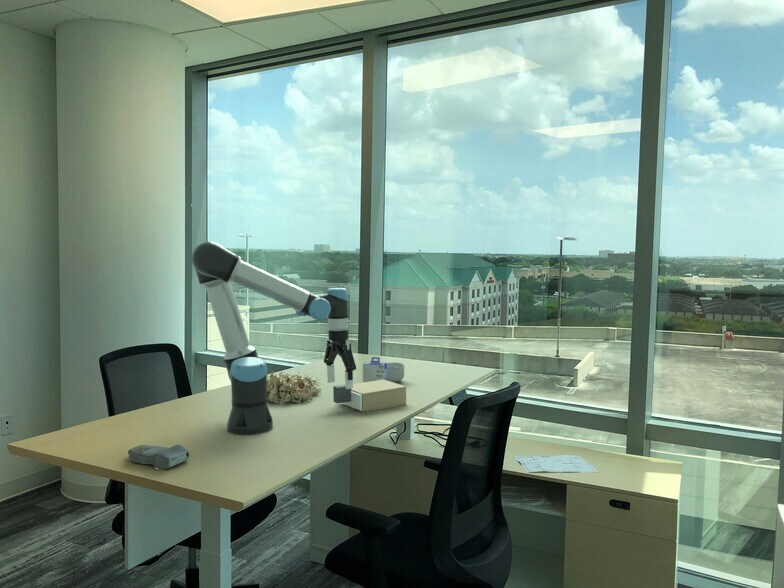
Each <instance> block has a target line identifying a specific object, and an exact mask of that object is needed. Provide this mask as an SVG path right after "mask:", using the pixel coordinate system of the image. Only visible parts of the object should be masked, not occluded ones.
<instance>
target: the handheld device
mask: <svg viewBox="0 0 784 588" xmlns="http://www.w3.org/2000/svg"><path fill="white" fill-rule="evenodd" d="M189 453H190V452H189V450H188V449H187V447H185V446H183V445H181V444H175V445H173V446H170V447H167V446H160V445H153V444H140V445H137V446H134V447H131V448H130V449H129V450H128V451H127V454H128V459H129V461H130V460H131V461H133V462H132V463H135V462H136V463H135V464H142V465H143V464H144V465H153V468H158V469H163V470H167V469H169V468H172V467H175V466H176V465H179V464H181V463H183V462H186V461H187V460H189V459H190V454H189ZM131 461H130V462H131Z"/></svg>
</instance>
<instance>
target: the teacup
mask: <svg viewBox="0 0 784 588" xmlns="http://www.w3.org/2000/svg"><path fill="white" fill-rule="evenodd" d="M386 363H387V381H390V382H393V383H396V384H398V383H400V382H401V381H402V380H403V379H404V377H405V363H403V362H386ZM397 382H398V383H397Z"/></svg>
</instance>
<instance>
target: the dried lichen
mask: <svg viewBox="0 0 784 588" xmlns="http://www.w3.org/2000/svg"><path fill="white" fill-rule="evenodd" d="M280 371H281V372H278V373H277V374H274V370H272V372H269V373H267V403H275V404H280V405H285V404H289V403H290V404H294V402H295V403H296V404H301V402H303V401H305V402H310V401H309V400H311V401H312V400H313V395H315V394H316V395H317V394H319V395H322V388H320V387H319V386H320V385H321V382H319V381H320V380H321V379H320V378H319V379H318V377H317V376H316V377H315V375H313V376H310V377H309V375H306V374H304V376H302V375H299V374H300V373H301V371H299V372H298V373H297V374H289V373H287V374H285V373H286V372H285V371H284V372H283V370H280ZM317 396H318V395H317Z"/></svg>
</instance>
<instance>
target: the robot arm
mask: <svg viewBox="0 0 784 588" xmlns="http://www.w3.org/2000/svg"><path fill="white" fill-rule="evenodd" d="M191 263H192V266H193V267H194V271H195V274H196V277H197V280H198V283H199V285H200V286H202V287H204V288H205V290H206V293H207V296H208V299H209V300H208V301H209V302H210V306H211V308H212V313H213V315H214V318H215V322H216V324H217V328H218V331H219V335H220V337H221V340H222V344H223V347H224V349H225V350H224V351H225V354H224V356H223V362H224V364H225V367H226V370H227V376H228V378H229V380H230V384H231V409H230V413H229V415H228V420H227V423H226V429H227V432H228V433H230V434H232V435H233V434H234V435H239V436H240V435H242V436H243V435H245V436H246V435H248V436H249V435H257V434H258V435H259V434H262V433H266V432H269V431H270V430H272V429H273V427H274V423H273V422H274V421H273V417H272V414H271V412H270V409H269V406H268V402H267V374H268V367H267V362H266V361H265V360H264V359H262V358H261V357H260V358H259V356H258V353H257V350H256V347H254V346H252V345H251V343H250V340H249V338H248V334H247V331H246V328H245V324H244V322H243V317H242V315H241V312H240V308H239V306H238V302H237V299H236V295H235V293H234V289H233V286H232V283H235V284H236V285H240V286H242V287H244V288H246V289H249V290H251V291H254V292H255V293H258V294H260V295H262V296H264V297H265V298H268V299H271V300H273V301H275V302H277V303H280V304H282V305H284V306H286V307H289V308H291V309H293V310H295V314H296V316H303V317H305V316H309V317H311V318H313V319H314V320H317V321H321V320H325V319H326V318H327V328H328V333H327V334H328V335H327V336H328V340H327V341H326V349H325V354H324V358H323V363H324V364H326V373H327V374H326V375H327V377H326V378H327V384H328V383H329V384H330V383H335V382H336V379H335V378H336V376H335V360H336V358H337V356H339V357H340V358H341V361H342V363H343V365H344V367H345V370H344V377H345V378H344V379H345V380H344V381H345V384H346V389H351V388H353V384H354V374H353V373H354V371H357V365H356V363H355V357H354V354H353V351H352V344H351V343H347V340H349V337H350V336H349V335H350V334H349V333H350V332H349V311H348V310H349V305H348V304H349V303H348V302H349V299H348V291H347V289H346V288H344V287H332V288H331V287H329V288H327V290H326V293H323V294H314V293H312V292H310V291H308V290H306V289H304V288H301V287H299V286H297V285H295V284H293V283H290V282H289V281H286V280H284V279H282V278H280V277H278V276H277V275H276V276H275V274H274V275H273V274H271V273H269V272H267V271H265V270H263V269H261V268H259V267H256V266H255V265H251V264H250V263H248V262H245V261H244V260H242V258H241V256H240V255H238V254H235V253H233V252H232V251H230V250H229V249H227V248H225V247H224V246H223V245H222V244H220V243H218V242H215V241H206V242H202V243H200V244H198V245H197V246H196V247H195V248H194V250H193V252H192V254H191ZM231 282H232V283H231Z"/></svg>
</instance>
